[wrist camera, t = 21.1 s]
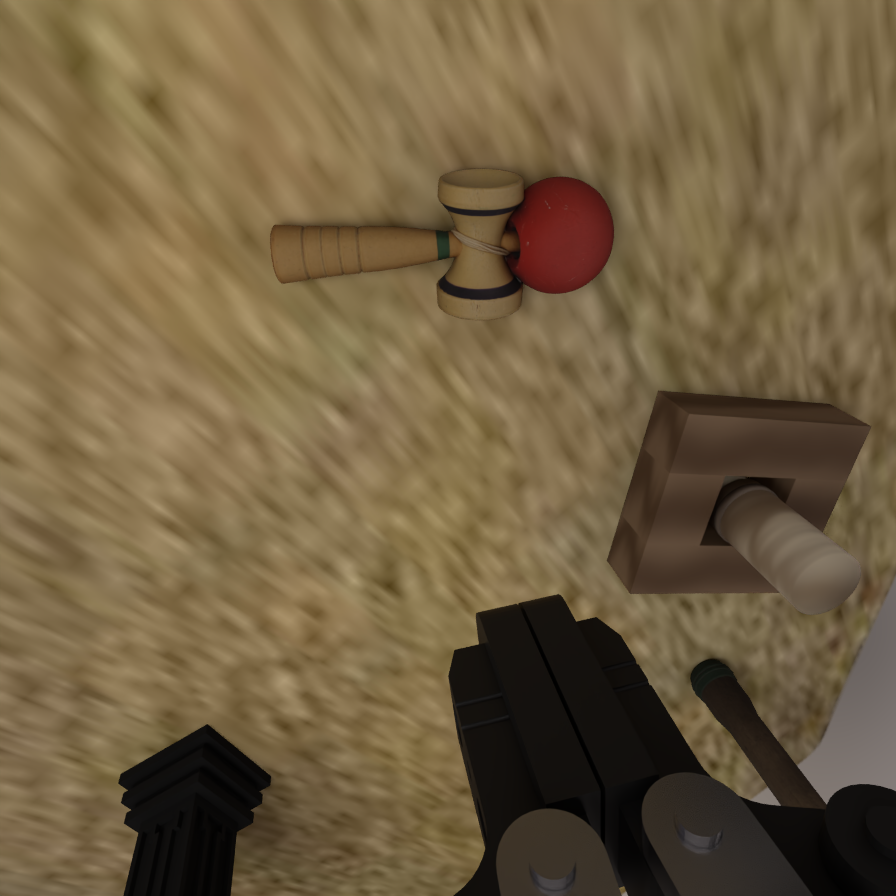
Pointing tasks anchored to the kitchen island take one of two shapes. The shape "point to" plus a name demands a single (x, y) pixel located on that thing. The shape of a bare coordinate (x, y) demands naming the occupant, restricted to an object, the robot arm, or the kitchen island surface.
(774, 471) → the block
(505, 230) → the kendama
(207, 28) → the kitchen island surface
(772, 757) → the potato masher grenade
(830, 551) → the peg
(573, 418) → the kitchen island surface
